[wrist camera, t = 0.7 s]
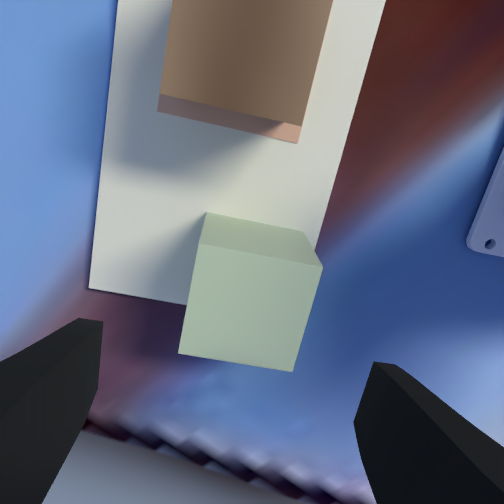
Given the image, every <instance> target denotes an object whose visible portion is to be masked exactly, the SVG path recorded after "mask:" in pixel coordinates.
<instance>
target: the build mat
mask: <svg viewBox="0 0 504 504" xmlns="http://www.w3.org/2000/svg"><path fill="white" fill-rule="evenodd" d="M172 1H173V0H118V8H117V18H116V27H115V37H114V47H113V57H112V66H111V76H110V86H109V95H108V105H107V115H106V125H105V134H104V144H103V154H102V164H101V173H100V183H99V193H98V203H97V212H96V222H95V232H94V241H93V251H92V261H91V271H90V280H89V288H92V289H98V290H104V291H109V292H115V293H121V294H126V295H132V296H138V297H143V298H149V299H154V300H160V301H166V302H171V303H177V304H183V305H187V303H188V297H189V292H190V287H191V281H192V276H193V271H194V266H195V260H196V255H197V250H198V244H199V240H200V236H201V232H202V228H203V224H204V220H205V216H206V212H210V213H215V214H220V215H225V216H230V217H235V218H240V219H244V220H249V221H254V222H259V223H264V224H269V225H274V226H279V227H284V228H289V229H294V230H299V231H303V232H304V234H305V235H306V237H307V239H308V241H309V242H310V244H311V246H312V248H313V250H314V251H315V247H316V243H317V240H318V236H319V233H320V229H321V226H322V222H323V219H324V215H325V212H326V208H327V205H328V201H329V198H330V194H331V191H332V187H333V184H334V180H335V177H336V173H337V170H338V166H339V163H340V159H341V156H342V152H343V149H344V145H345V142H346V138H347V135H348V131H349V127H350V124H351V120H352V117H353V113H354V110H355V106H356V103H357V99H358V96H359V92H360V89H361V85H362V82H363V78H364V75H365V71H366V68H367V64H368V61H369V57H370V54H371V50H372V47H373V43H374V40H375V36H376V33H377V29H378V26H379V22H380V18H381V15H382V11H383V8H384V4H385V1H386V0H333V2H332V6H331V10H330V14H329V18H328V22H327V26H326V30H325V34H324V39H323V43H322V47H321V51H320V55H319V59H318V63H317V67H316V71H315V75H314V79H313V83H312V87H311V91H310V95H309V99H308V103H307V107H306V111H305V115H304V119H303V123H302V127H301V126H297V125H293V124H289V123H284V122H280V121H276V120H271V119H267V118H263V117H258V116H254V115H250V114H245V113H241V112H237V111H233V110H228V109H224V108H220V107H215V106H211V105H207V104H202V103H198V102H194V101H190V100H185V99H181V98H177V97H172V96H168V95H164V94H160V87H161V80H162V73H163V66H164V59H165V51H166V44H167V37H168V30H169V23H170V16H171V8H172Z"/></svg>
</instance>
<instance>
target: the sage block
mask: <svg viewBox="0 0 504 504" xmlns="http://www.w3.org/2000/svg"><path fill="white" fill-rule="evenodd" d="M322 270H323V266H322V264H321V262H320V260H319V259H318V257H317V255H316V253H315V251H314V250H313V248H312V246H311V244H310V242H309V241H308V239H307V237H306V235H305V234H304V232H303V231H299V230H294V229H289V228H284V227H279V226H274V225H269V224H264V223H259V222H254V221H249V220H244V219H240V218H235V217H230V216H225V215H220V214H215V213H210V212H206V216H205V220H204V224H203V228H202V232H201V236H200V240H199V244H198V250H197V255H196V260H195V266H194V271H193V276H192V281H191V287H190V292H189V297H188V303H187V308H186V313H185V319H184V324H183V329H182V334H181V340H180V345H179V350H178V354H184V355H191V356H197V357H203V358H209V359H215V360H221V361H227V362H233V363H239V364H245V365H252V366H258V367H264V368H270V369H276V370H282V371H288V372H293V368H294V365H295V361H296V358H297V355H298V351H299V348H300V345H301V341H302V338H303V334H304V331H305V328H306V324H307V321H308V317H309V314H310V311H311V307H312V304H313V301H314V297H315V294H316V290H317V287H318V284H319V280H320V277H321V273H322Z"/></svg>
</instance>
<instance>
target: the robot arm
mask: <svg viewBox="0 0 504 504" xmlns="http://www.w3.org/2000/svg"><path fill="white" fill-rule="evenodd" d="M489 239H491V243H490V244H489V245H488V246H486V247H485V243H486V241H487V240H489ZM466 244H467V246H468V247H469V248H470V249H471V250H473V251H476V252H480V253H485V254H490V255H494V256H499V257H504V147H503V150H502V152H501V155H500V157H499V160H498V162H497V165H496V167H495V170H494V172H493V175H492V177H491V179H490V182H489V184H488V187H487V189H486V192H485V194H484V197H483V199H482V202H481V204H480V207H479V209H478V212H477V214H476V217H475V219H474V221H473V224H472V226H471V229H470V231H469V234H468V236H467V240H466ZM102 331H103V322H102V321H96V320H89V319H82V318H78V319H76V320H74V321H72V322H71V323H69V324H67V325H65V326H64V327H62V328H60V329H58V330H57V331H55V332H53V333H52V334H50V335H48V336H47V337H45V338H43V339H41V340H40V341H38V342H36V343H34V344H32V345H31V346H29V347H27V348H25V349H24V350H22V351H20V352H18V353H16V354H15V355H13V356H11V357H9V358H7V359H5V360H3V361H1V362H0V504H42V502H43V500H44V498H45V497H46V495H47V492H48V491H49V489H50V487H51V485H52V483H53V482H54V480H55V478H56V476H57V474H58V472H59V470H60V468H61V467H62V465H63V463H64V461H65V459H66V457H67V455H68V453H69V452H70V450H71V448H72V446H73V444H74V442H75V440H76V438H77V437H78V434H79V433H80V431H81V429H82V427H83V425H84V423H85V420H86V418H87V415H88V413H89V410H90V407H91V405H92V402H93V399H94V397H95V394H96V391H97V389H98V378H99V366H100V354H101V343H102ZM354 427H355V433H356V438H357V443H358V447H359V452H360V456H361V460H362V463H363V466H364V469H365V472H366V474H367V477H368V480H369V483H370V486H371V489H372V492H373V494H374V497H375V500H376V503H377V504H504V447H503V446H501V445H500V444H498V443H497V442H496V441H494V440H493V439H492V438H490V437H489V436H487V435H486V434H485V433H483V432H482V431H481V430H479V429H478V428H477V427H475V426H474V425H473V424H471V423H470V422H469V421H467V420H466V419H465V418H464V417H462V416H461V415H460V414H458V413H457V412H456V411H455V410H453V409H452V408H451V407H450V406H448V405H447V404H446V403H445V402H443V401H442V400H441V399H440V398H438V397H437V396H436V395H435V394H433V393H432V392H431V391H430V390H429V389H427V388H426V387H425V386H424V385H422V384H421V383H420V382H419V381H417V380H416V379H415V378H413V377H412V376H411V375H410V374H408V373H407V372H405V371H404V370H403V369H401V368H400V367H398V366H397V365H395V364H388V363H381V362H373V365H372V368H371V371H370V374H369V377H368V380H367V383H366V386H365V389H364V392H363V395H362V398H361V401H360V404H359V407H358V410H357V413H356V416H355V419H354Z"/></svg>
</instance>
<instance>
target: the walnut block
mask: <svg viewBox="0 0 504 504" xmlns="http://www.w3.org/2000/svg"><path fill="white" fill-rule="evenodd" d="M332 2H333V0H173V1H172V8H171V16H170V23H169V30H168V37H167V44H166V51H165V59H164V66H163V73H162V80H161V87H160V94H164V95H168V96H172V97H177V98H181V99H185V100H190V101H194V102H198V103H202V104H207V105H211V106H215V107H220V108H224V109H228V110H233V111H237V112H241V113H245V114H250V115H254V116H258V117H263V118H267V119H271V120H276V121H280V122H284V123H289V124H293V125H297V126H301V127H302V123H303V119H304V115H305V111H306V107H307V103H308V99H309V95H310V91H311V87H312V83H313V79H314V75H315V71H316V67H317V63H318V59H319V55H320V51H321V47H322V43H323V39H324V34H325V30H326V26H327V22H328V18H329V14H330V10H331V6H332Z"/></svg>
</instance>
